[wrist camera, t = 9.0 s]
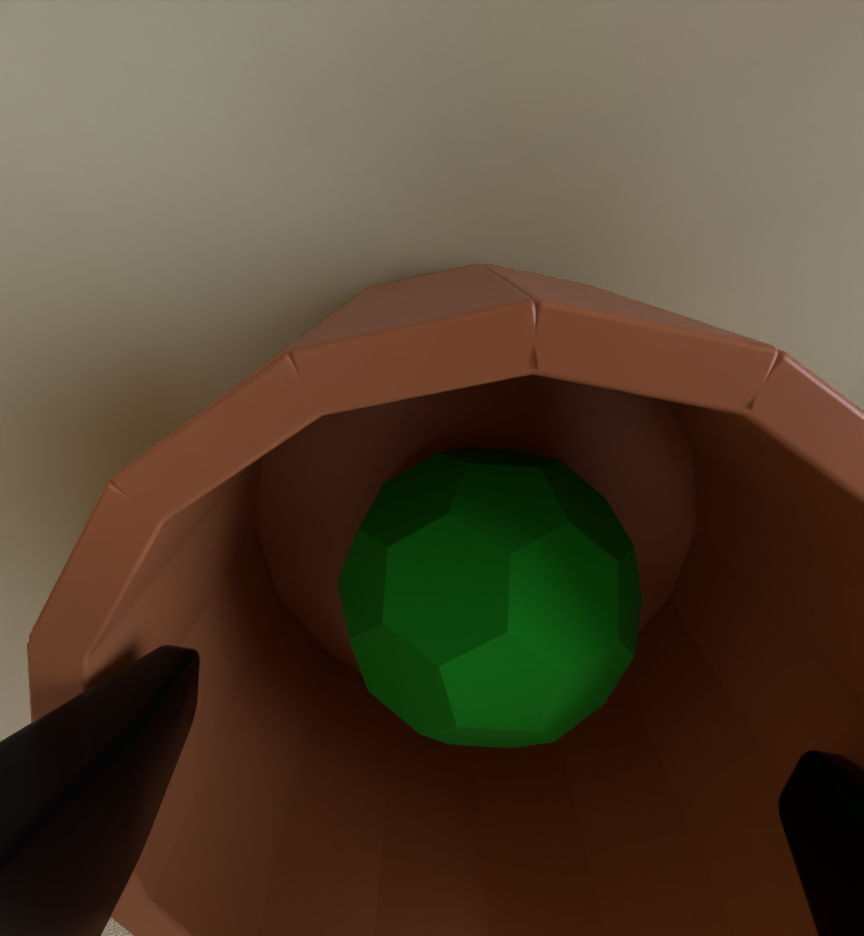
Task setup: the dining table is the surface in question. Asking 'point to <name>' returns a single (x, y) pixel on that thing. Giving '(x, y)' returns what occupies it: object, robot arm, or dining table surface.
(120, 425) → the dining table surface
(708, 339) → the pot
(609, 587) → the polyhedron
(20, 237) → the dining table surface
